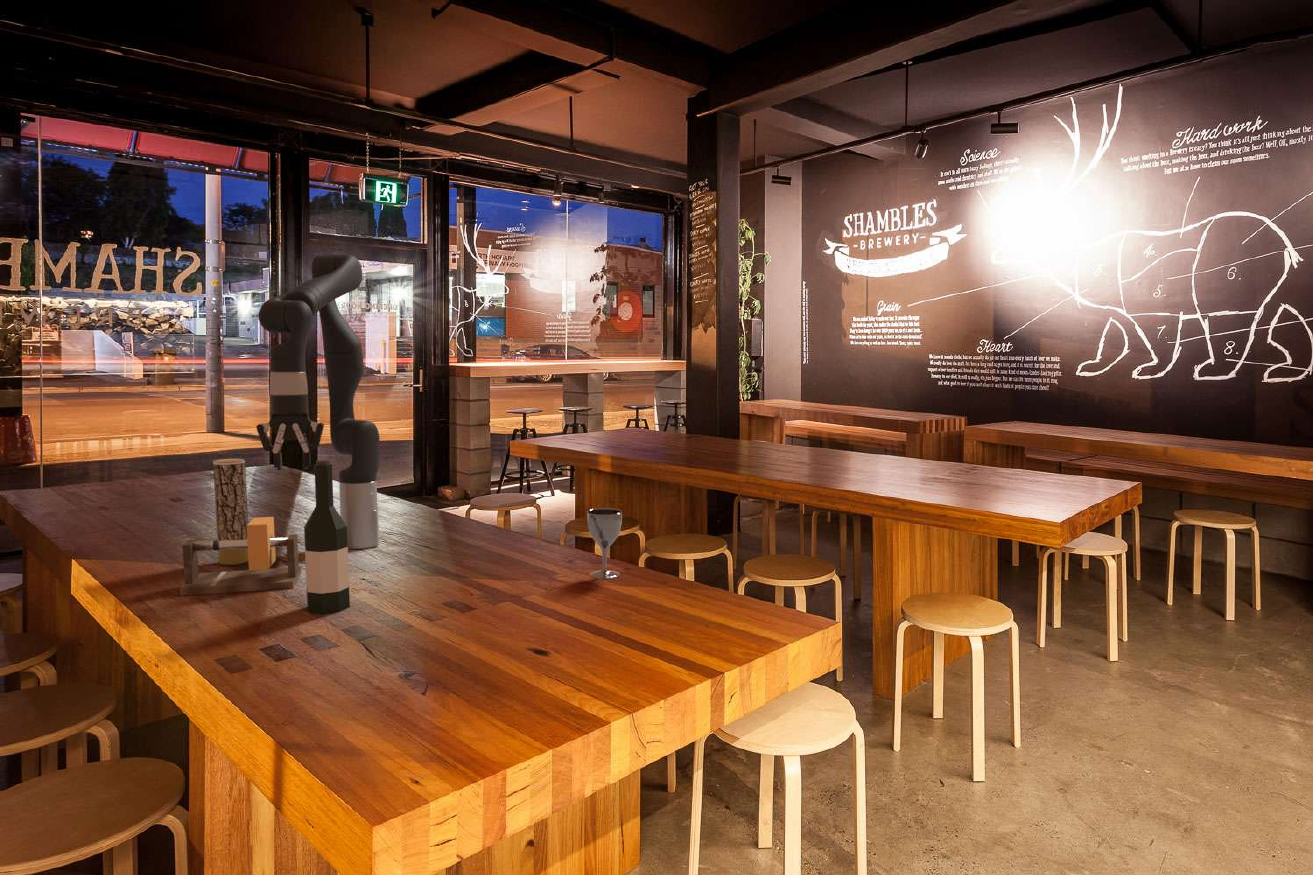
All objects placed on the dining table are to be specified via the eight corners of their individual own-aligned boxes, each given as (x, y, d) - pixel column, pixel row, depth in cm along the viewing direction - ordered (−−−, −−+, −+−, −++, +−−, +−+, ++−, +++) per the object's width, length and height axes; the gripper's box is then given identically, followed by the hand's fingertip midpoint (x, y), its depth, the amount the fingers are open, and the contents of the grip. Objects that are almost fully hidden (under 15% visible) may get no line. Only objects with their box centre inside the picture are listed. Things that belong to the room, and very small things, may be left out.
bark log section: (236, 567, 196) (231, 463, 193) (212, 565, 197) (206, 462, 194) (256, 559, 202) (251, 459, 199) (232, 558, 204) (226, 458, 201)
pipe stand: (301, 573, 191) (299, 530, 189) (293, 588, 179) (291, 542, 178) (195, 579, 185) (193, 535, 184) (180, 595, 173) (177, 548, 172)
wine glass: (626, 571, 194) (626, 509, 192) (614, 580, 186) (614, 515, 185) (595, 568, 196) (595, 506, 195) (582, 577, 189) (581, 513, 187)
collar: (275, 559, 187) (273, 516, 186) (269, 569, 179) (266, 524, 178) (256, 561, 186) (254, 517, 185) (248, 570, 178) (246, 525, 177)
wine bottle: (314, 601, 170) (308, 457, 167) (355, 600, 171) (350, 457, 167) (300, 614, 162) (293, 463, 158) (343, 613, 162) (338, 463, 159)
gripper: (326, 391, 186) (329, 466, 188) (257, 391, 182) (260, 468, 184) (322, 393, 178) (325, 470, 180) (249, 393, 175) (253, 473, 177)
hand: (292, 469), depth 182 cm, fingers open, 4 cm apart
